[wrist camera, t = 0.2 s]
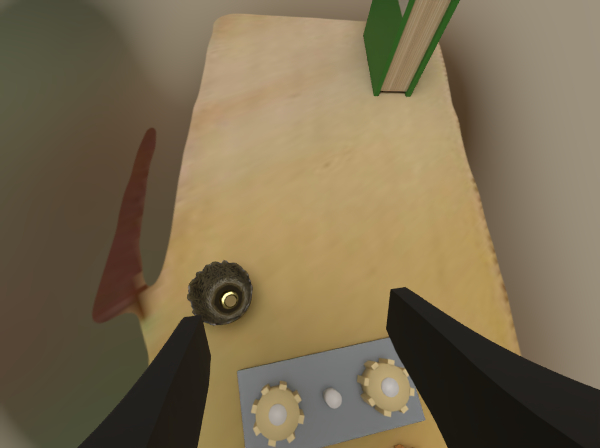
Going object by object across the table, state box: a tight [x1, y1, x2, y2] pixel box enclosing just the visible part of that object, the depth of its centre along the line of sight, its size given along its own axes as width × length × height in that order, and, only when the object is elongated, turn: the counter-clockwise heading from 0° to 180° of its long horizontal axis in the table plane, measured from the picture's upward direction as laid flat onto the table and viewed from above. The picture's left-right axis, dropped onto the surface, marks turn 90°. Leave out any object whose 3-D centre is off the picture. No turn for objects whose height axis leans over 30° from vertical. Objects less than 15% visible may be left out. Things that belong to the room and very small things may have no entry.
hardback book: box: [363, 0, 460, 97], centre depth 50 cm, size 18×7×24 cm, turn 2°
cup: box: [187, 260, 253, 325], centre depth 38 cm, size 8×7×8 cm
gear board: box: [237, 337, 425, 448], centre depth 35 cm, size 10×22×5 cm, turn 101°
